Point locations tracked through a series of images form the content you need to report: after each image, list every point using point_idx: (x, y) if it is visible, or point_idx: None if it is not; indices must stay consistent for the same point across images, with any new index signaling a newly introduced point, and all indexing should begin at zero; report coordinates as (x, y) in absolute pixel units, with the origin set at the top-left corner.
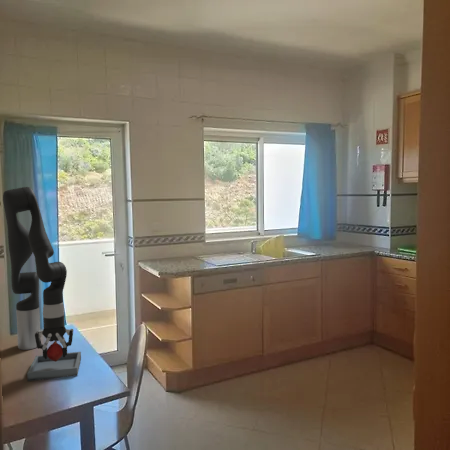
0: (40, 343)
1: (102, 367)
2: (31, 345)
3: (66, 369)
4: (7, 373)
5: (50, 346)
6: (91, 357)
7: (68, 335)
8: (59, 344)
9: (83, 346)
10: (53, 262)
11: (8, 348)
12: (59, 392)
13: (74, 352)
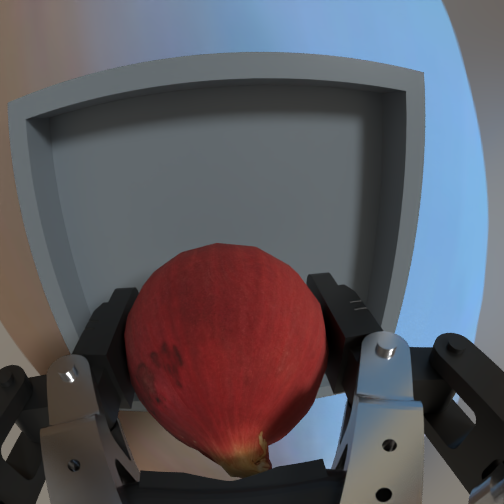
0: (13, 415)
1: (474, 268)
2: None
3: (320, 394)
4: None
5: (176, 438)
6: (446, 84)
7: (475, 486)
8: (300, 396)
9: None
10: None
11: None
12: (286, 451)
13: (375, 68)
